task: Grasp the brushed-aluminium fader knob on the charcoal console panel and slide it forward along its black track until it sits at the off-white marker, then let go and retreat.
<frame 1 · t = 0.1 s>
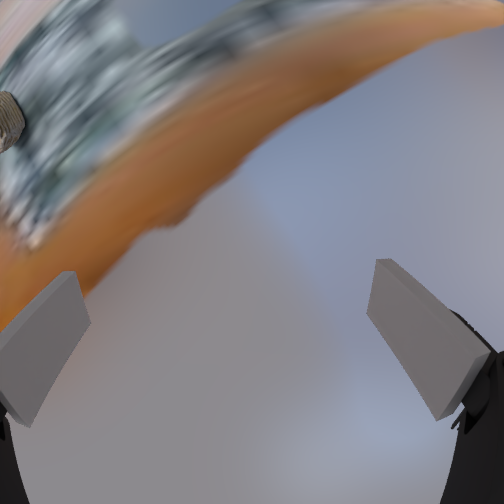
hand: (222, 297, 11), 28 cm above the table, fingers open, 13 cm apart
fossil tooth: (12, 120, 29), on the table
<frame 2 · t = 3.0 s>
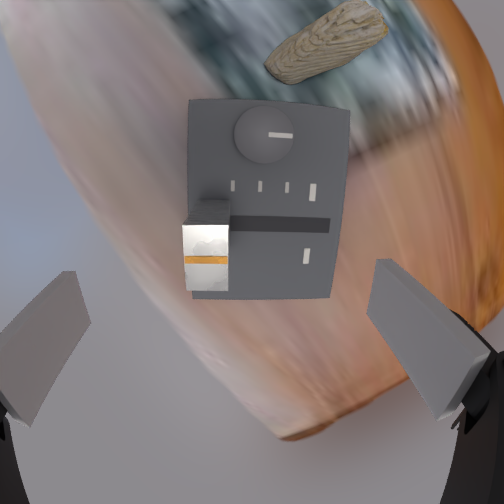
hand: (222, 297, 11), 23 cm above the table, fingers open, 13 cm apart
console: (265, 202, 33), on the table
fossil tooth: (317, 51, 27), on the table
fader: (210, 238, 26), point 8 cm above the table, slide at 0.0 cm
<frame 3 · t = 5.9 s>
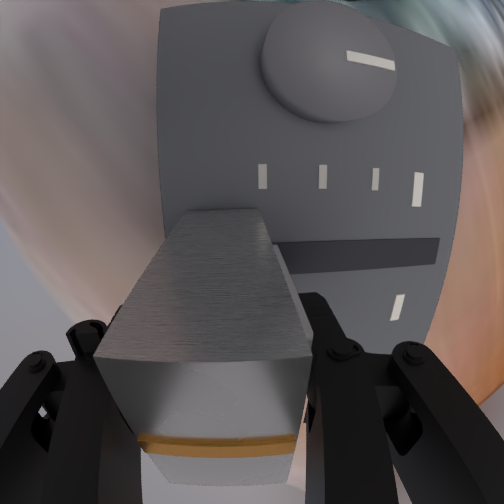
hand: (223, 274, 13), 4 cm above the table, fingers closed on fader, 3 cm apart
console: (324, 210, 16), on the table
fader: (220, 322, 9), point 8 cm above the table, slide at 0.0 cm, touching gripper
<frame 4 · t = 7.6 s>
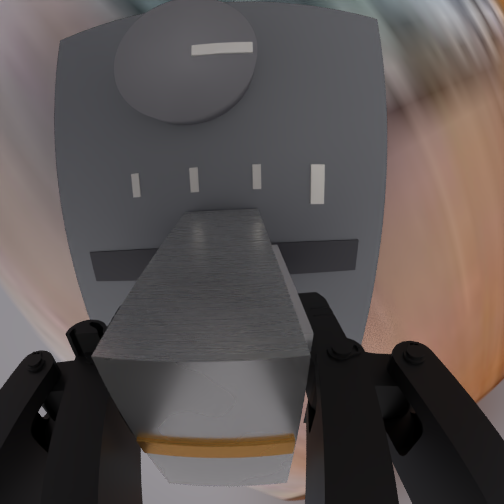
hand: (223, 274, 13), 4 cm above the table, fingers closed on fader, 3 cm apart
console: (220, 212, 16), on the table
fader: (220, 322, 9), point 8 cm above the table, slide at 6.3 cm, touching gripper
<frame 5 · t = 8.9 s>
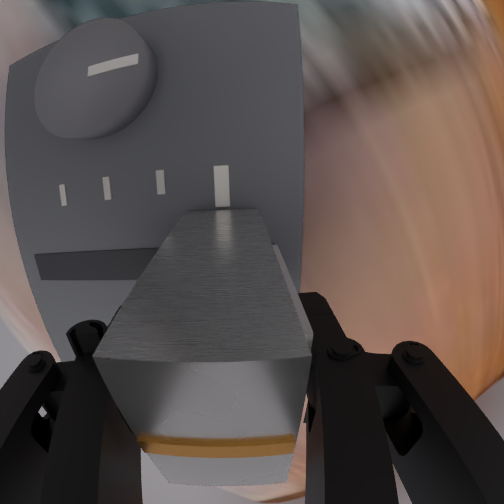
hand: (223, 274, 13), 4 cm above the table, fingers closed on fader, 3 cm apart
console: (143, 217, 16), on the table
fader: (220, 322, 9), point 8 cm above the table, slide at 10.9 cm, touching gripper
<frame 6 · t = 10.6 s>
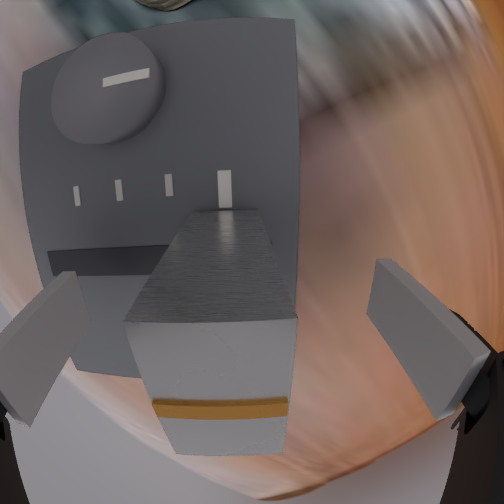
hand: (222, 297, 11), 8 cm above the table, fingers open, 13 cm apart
console: (151, 217, 17), on the table
fader: (224, 309, 11), point 8 cm above the table, slide at 11.0 cm
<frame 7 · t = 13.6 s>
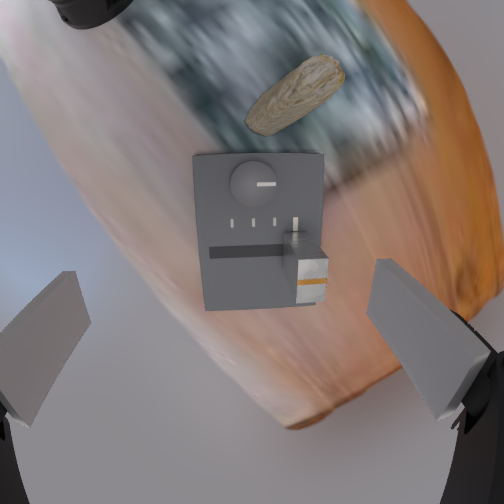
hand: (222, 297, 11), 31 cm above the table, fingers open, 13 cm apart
console: (259, 232, 42), on the table
fossil tooth: (288, 100, 36), on the table
fader: (302, 264, 36), point 8 cm above the table, slide at 11.0 cm
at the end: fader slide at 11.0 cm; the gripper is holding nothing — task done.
